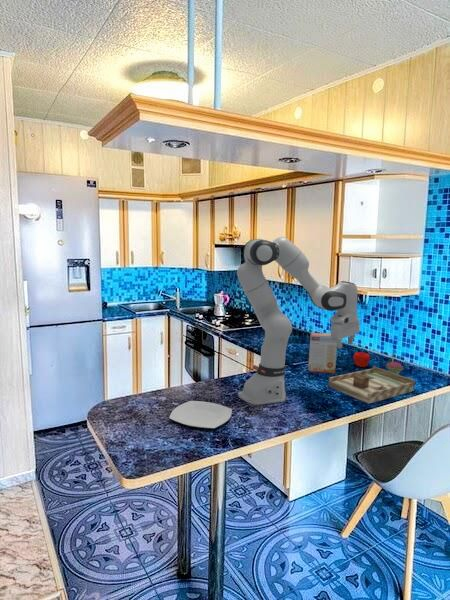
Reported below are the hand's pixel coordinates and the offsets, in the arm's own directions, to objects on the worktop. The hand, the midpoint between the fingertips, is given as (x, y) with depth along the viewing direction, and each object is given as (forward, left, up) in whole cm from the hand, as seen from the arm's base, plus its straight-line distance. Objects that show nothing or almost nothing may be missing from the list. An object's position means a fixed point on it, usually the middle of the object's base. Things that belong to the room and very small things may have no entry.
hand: (345, 345), depth 195 cm
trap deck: (+19, -3, -23) cm, 30 cm away
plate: (-71, +8, -24) cm, 76 cm away
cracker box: (+16, +28, -23) cm, 40 cm away
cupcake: (+49, +6, -23) cm, 54 cm away
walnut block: (+11, -3, -21) cm, 23 cm away
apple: (+44, +24, -23) cm, 55 cm away
